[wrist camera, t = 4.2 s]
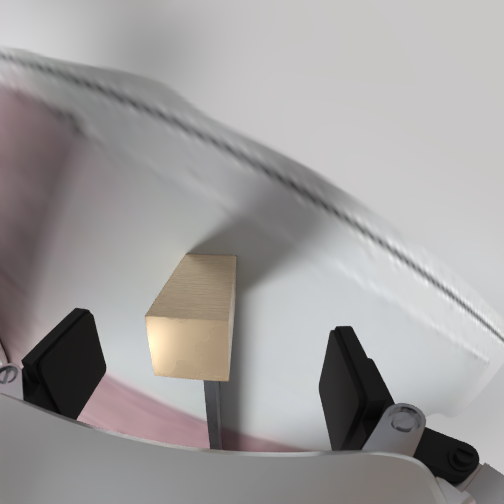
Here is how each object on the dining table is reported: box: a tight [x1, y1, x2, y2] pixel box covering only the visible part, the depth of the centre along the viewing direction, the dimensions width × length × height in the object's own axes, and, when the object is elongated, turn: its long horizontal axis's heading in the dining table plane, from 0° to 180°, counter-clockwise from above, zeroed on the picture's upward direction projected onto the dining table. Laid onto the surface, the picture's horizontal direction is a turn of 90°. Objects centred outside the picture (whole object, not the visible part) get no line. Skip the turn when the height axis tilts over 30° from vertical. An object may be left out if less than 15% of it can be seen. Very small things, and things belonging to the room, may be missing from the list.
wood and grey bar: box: [145, 254, 236, 450], centre depth 18 cm, size 24×3×8 cm, turn 178°
